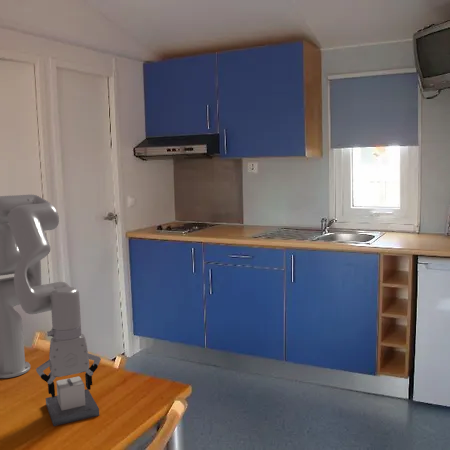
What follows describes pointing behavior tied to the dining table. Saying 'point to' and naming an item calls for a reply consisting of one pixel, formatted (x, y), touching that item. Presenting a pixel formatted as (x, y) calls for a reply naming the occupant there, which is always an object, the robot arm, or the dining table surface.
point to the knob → (70, 393)
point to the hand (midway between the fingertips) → (70, 391)
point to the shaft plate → (71, 410)
